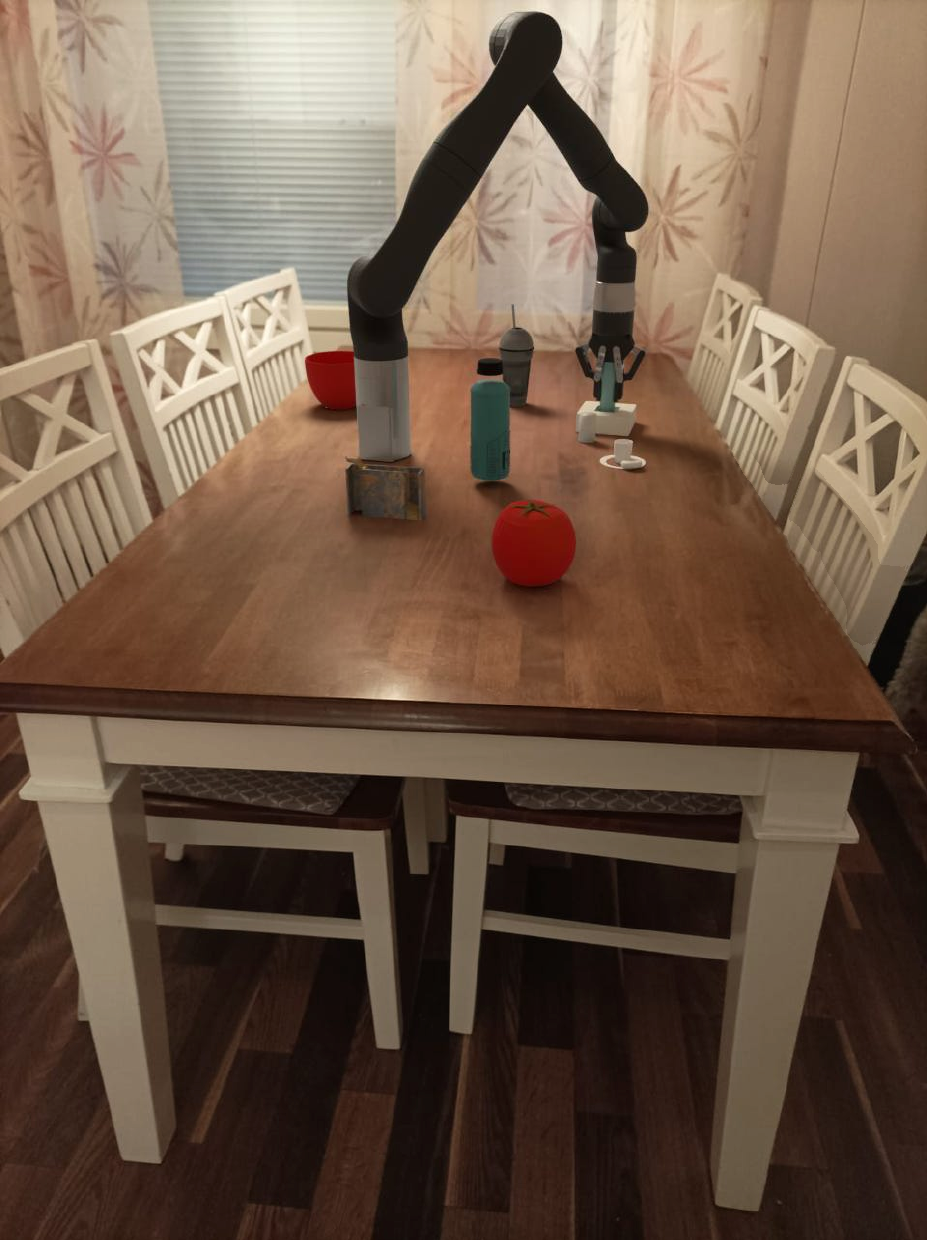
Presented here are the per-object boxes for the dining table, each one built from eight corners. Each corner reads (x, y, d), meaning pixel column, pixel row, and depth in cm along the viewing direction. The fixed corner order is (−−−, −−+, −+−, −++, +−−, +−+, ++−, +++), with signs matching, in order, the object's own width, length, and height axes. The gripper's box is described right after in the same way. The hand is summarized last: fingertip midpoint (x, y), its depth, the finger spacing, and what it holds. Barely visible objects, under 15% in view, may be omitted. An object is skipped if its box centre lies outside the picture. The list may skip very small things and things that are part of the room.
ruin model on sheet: (347, 518, 144) (343, 456, 140) (353, 511, 147) (349, 450, 142) (420, 524, 142) (419, 460, 138) (425, 516, 145) (424, 454, 140)
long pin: (612, 421, 184) (616, 363, 178) (597, 420, 184) (600, 362, 179) (615, 417, 186) (619, 360, 181) (599, 416, 187) (603, 359, 182)
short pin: (593, 443, 176) (594, 416, 174) (577, 442, 177) (578, 415, 175) (595, 439, 179) (597, 412, 176) (580, 437, 180) (581, 411, 177)
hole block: (628, 436, 180) (629, 417, 179) (575, 431, 183) (576, 413, 181) (635, 422, 189) (636, 404, 187) (584, 418, 191) (585, 400, 190)
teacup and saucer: (644, 474, 162) (646, 451, 160) (597, 471, 163) (598, 448, 161) (646, 458, 170) (648, 436, 168) (601, 456, 171) (602, 433, 169)
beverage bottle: (506, 491, 153) (508, 364, 144) (465, 488, 155) (465, 362, 145) (512, 478, 159) (515, 355, 150) (473, 475, 160) (473, 353, 151)
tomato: (522, 557, 130) (524, 481, 125) (588, 578, 124) (593, 499, 119) (473, 583, 123) (473, 503, 118) (541, 606, 117) (544, 523, 112)
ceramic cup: (386, 414, 195) (384, 364, 190) (303, 414, 195) (299, 364, 190) (392, 398, 206) (390, 350, 201) (313, 397, 206) (310, 350, 202)
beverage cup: (519, 410, 197) (522, 309, 188) (491, 404, 201) (492, 305, 192) (539, 403, 202) (542, 304, 193) (510, 397, 206) (512, 300, 197)
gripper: (572, 308, 174) (567, 403, 182) (649, 312, 171) (642, 408, 179) (579, 302, 181) (575, 393, 188) (654, 305, 177) (646, 398, 185)
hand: (607, 400), depth 183 cm, fingers closed on long pin, 3 cm apart
